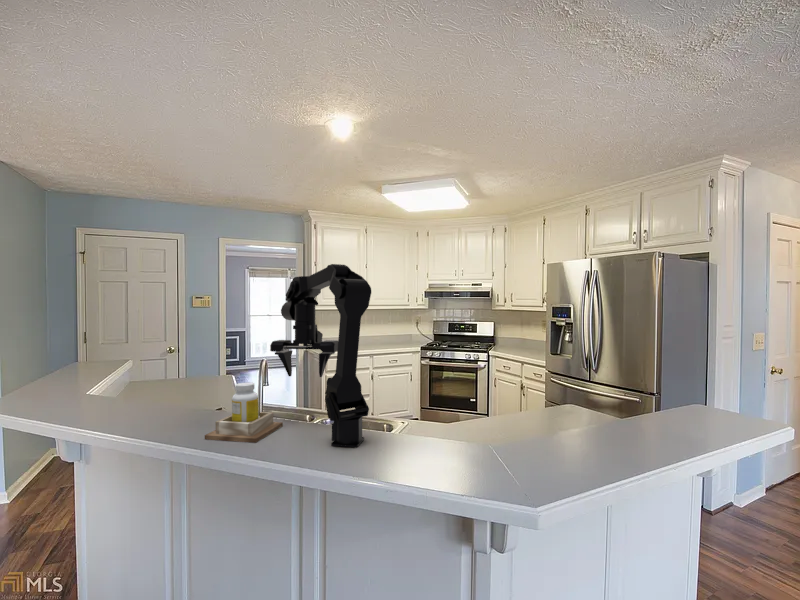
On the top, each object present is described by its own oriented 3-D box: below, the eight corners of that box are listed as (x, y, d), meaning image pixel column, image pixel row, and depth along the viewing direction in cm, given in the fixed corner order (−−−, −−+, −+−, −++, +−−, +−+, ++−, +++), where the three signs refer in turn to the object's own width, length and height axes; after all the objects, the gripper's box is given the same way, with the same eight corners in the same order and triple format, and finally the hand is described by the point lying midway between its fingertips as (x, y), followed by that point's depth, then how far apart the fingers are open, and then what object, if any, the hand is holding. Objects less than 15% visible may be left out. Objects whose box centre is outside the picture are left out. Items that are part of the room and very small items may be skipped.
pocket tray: (282, 426, 117) (282, 411, 117) (256, 442, 104) (256, 426, 104) (236, 423, 120) (236, 409, 120) (204, 439, 106) (204, 423, 106)
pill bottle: (262, 425, 115) (262, 381, 115) (251, 432, 108) (251, 386, 108) (239, 424, 115) (239, 381, 116) (227, 431, 109) (227, 386, 109)
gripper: (345, 320, 128) (345, 372, 128) (286, 320, 131) (286, 371, 131) (333, 322, 117) (333, 379, 117) (269, 321, 120) (269, 377, 120)
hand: (305, 376), depth 121 cm, fingers open, 9 cm apart
